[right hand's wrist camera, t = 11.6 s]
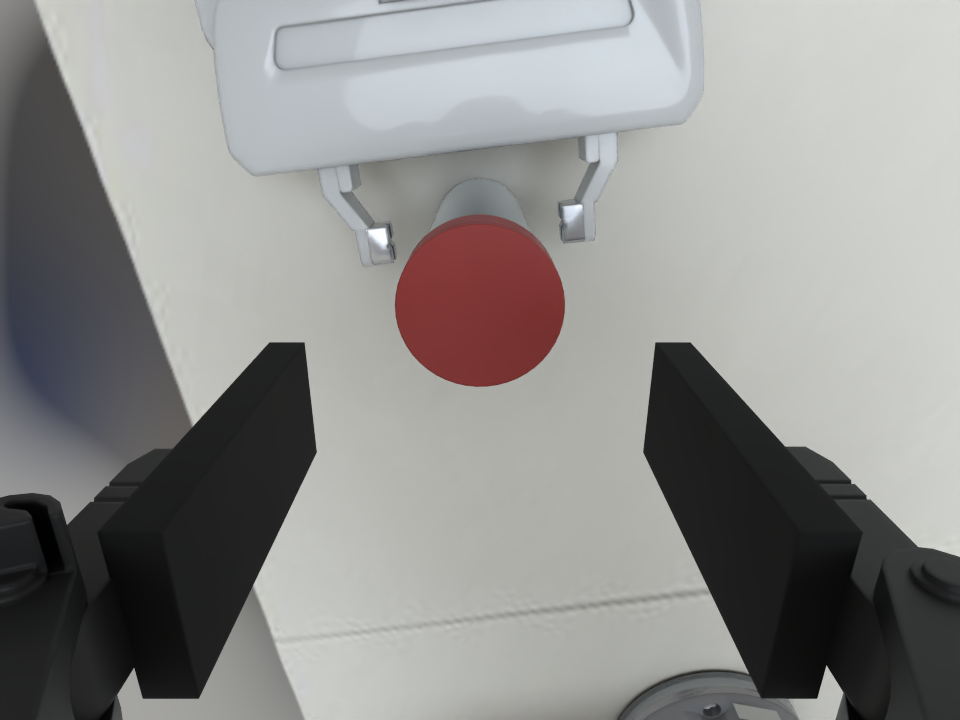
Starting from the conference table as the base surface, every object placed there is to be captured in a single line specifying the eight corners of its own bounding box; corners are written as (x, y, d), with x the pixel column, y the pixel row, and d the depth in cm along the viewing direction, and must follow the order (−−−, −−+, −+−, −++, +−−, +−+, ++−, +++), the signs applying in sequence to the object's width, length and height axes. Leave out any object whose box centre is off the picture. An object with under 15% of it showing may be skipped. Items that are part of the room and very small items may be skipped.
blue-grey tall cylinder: (506, 165, 35) (527, 208, 19) (533, 247, 36) (572, 347, 21) (424, 196, 35) (382, 261, 20) (455, 276, 37) (437, 392, 22)
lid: (529, 190, 21) (534, 198, 19) (576, 337, 23) (585, 357, 21) (377, 246, 21) (367, 259, 20) (435, 384, 23) (432, 407, 21)
